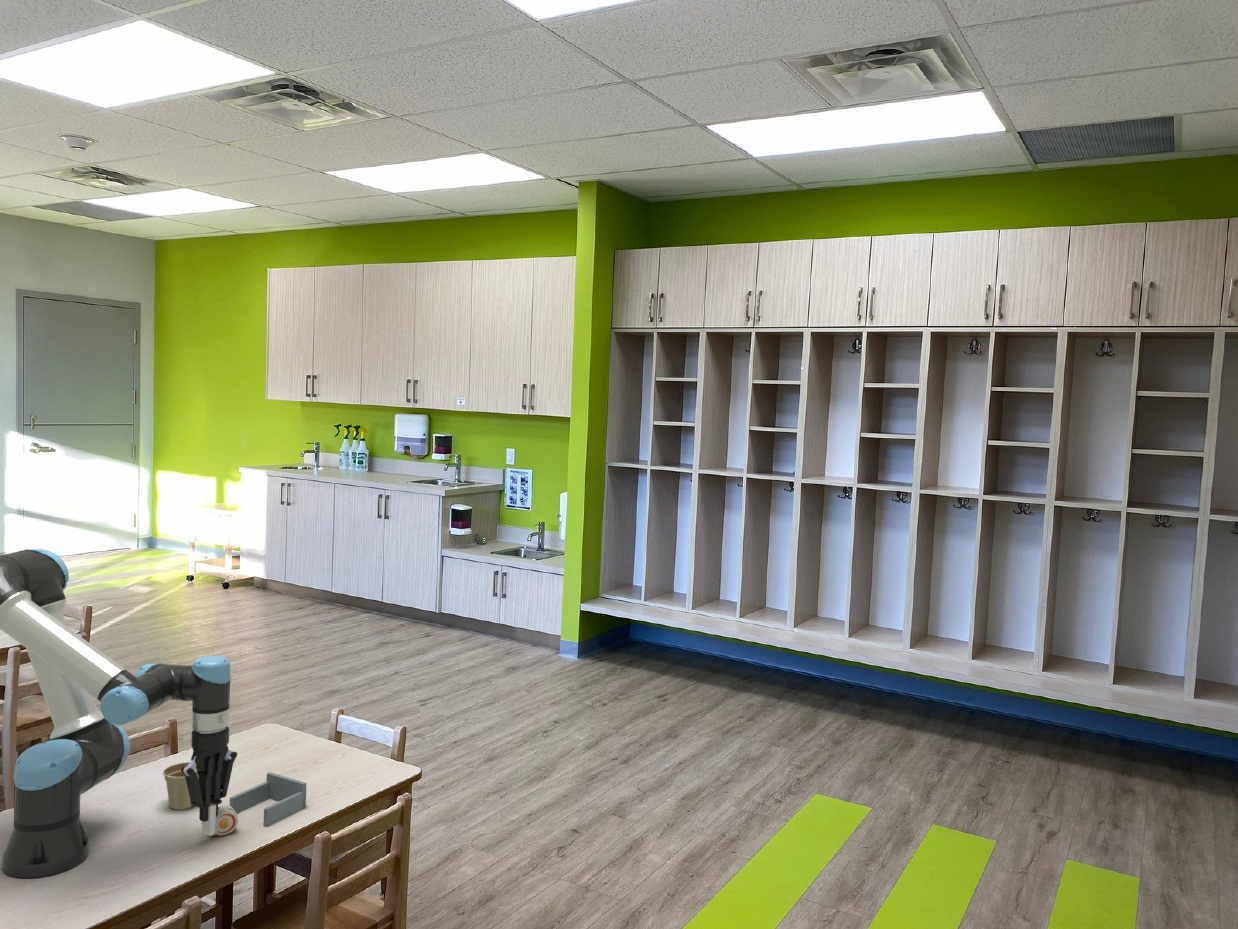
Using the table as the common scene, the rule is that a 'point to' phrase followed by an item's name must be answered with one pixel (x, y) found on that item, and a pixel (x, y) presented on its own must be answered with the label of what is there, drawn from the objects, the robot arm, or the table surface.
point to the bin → (273, 797)
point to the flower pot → (177, 786)
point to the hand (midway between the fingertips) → (208, 833)
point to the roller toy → (225, 820)
